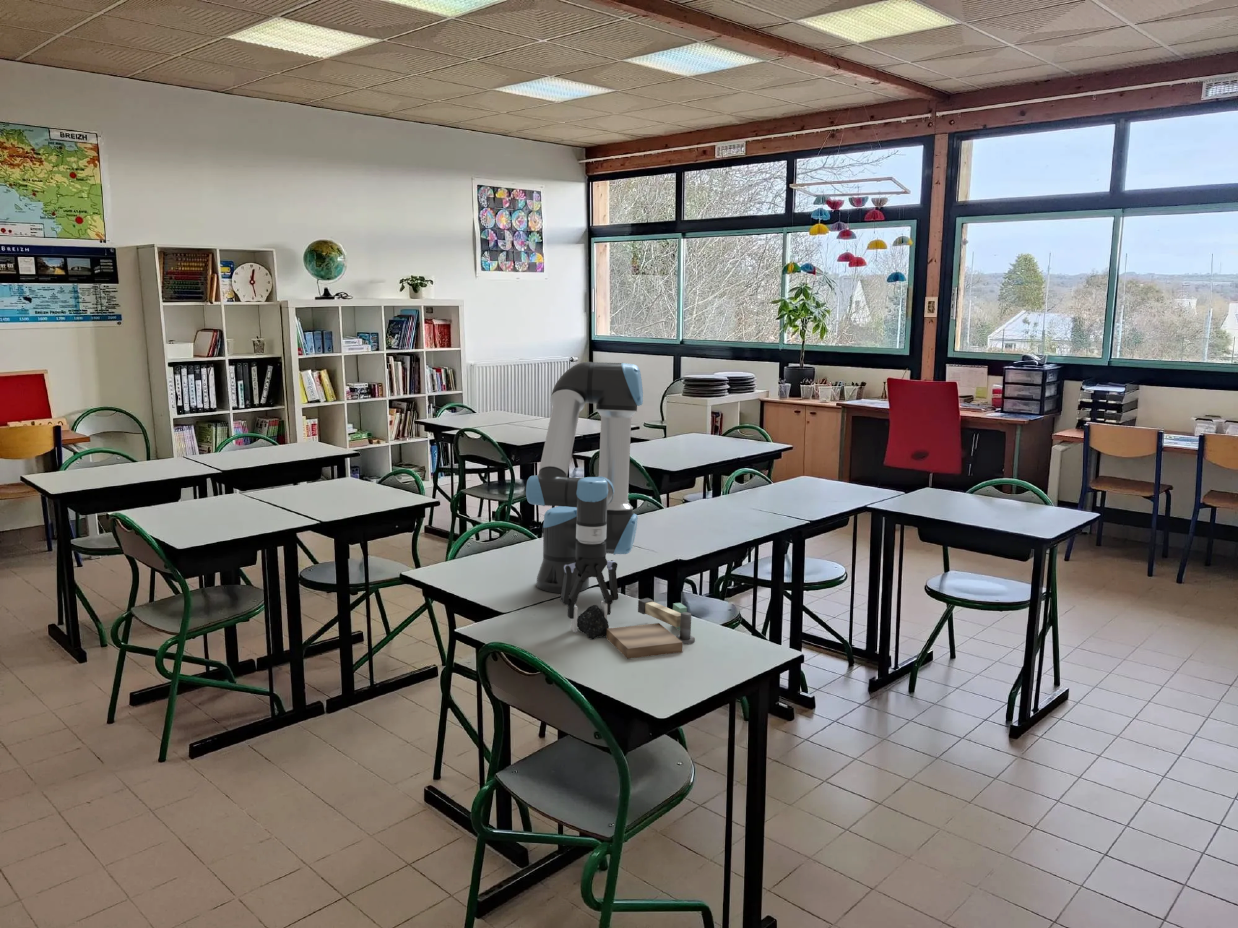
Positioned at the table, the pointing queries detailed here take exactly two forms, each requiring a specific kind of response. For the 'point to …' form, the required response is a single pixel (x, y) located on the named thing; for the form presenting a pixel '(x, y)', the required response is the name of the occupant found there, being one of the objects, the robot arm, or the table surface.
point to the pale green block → (679, 609)
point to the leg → (659, 612)
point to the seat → (650, 639)
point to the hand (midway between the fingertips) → (588, 628)
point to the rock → (592, 622)
